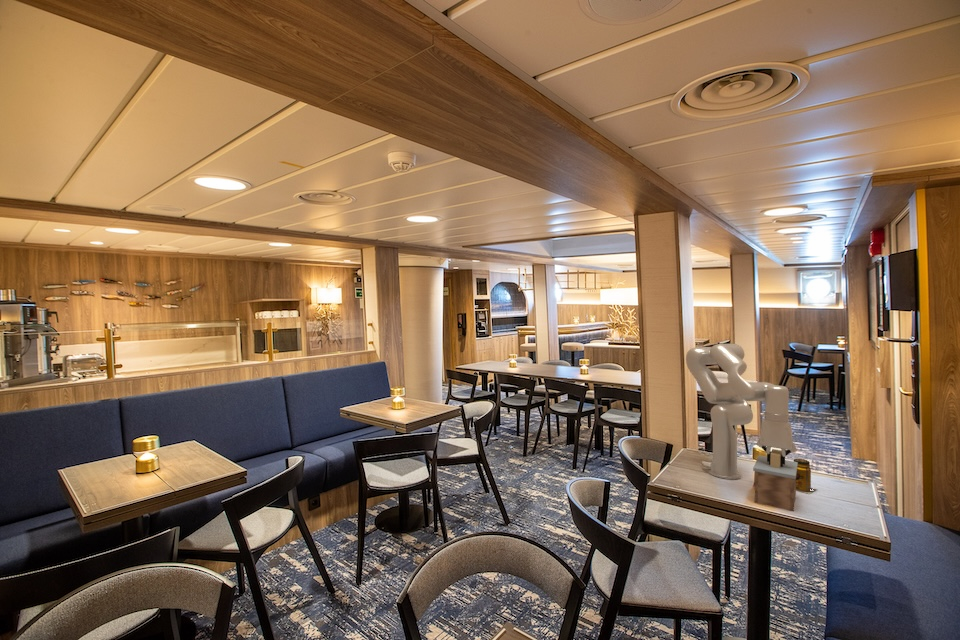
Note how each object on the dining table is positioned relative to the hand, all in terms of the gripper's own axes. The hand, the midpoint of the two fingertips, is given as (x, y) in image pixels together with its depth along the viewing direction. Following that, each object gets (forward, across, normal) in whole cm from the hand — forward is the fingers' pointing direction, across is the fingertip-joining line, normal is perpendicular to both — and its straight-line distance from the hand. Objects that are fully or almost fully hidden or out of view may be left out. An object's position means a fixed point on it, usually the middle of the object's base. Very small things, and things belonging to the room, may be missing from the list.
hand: (775, 464), depth 167 cm
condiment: (+14, +8, +19) cm, 25 cm away
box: (+13, 0, 0) cm, 13 cm away
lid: (+2, 0, 0) cm, 2 cm away
